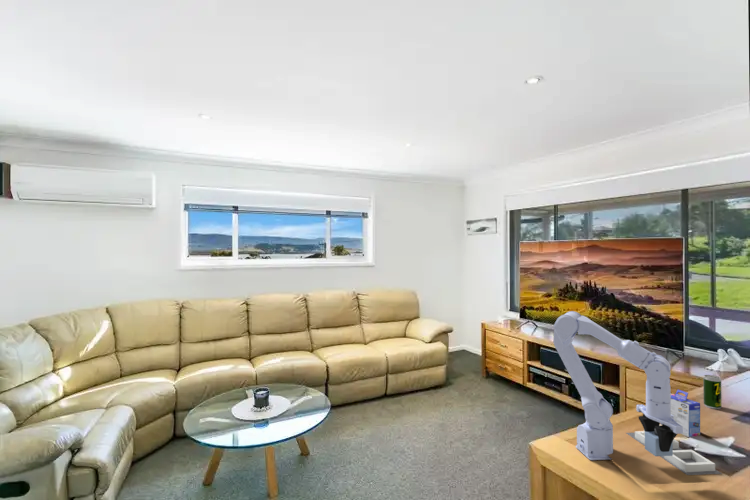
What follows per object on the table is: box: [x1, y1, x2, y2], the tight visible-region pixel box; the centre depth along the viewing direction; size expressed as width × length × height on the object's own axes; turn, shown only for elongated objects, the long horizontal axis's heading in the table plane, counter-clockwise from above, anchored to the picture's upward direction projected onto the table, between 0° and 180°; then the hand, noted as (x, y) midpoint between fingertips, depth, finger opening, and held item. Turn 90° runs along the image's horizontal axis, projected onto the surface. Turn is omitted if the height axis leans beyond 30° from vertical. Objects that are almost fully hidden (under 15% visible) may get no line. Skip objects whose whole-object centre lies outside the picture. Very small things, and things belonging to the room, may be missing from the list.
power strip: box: [625, 430, 723, 476], centre depth 116 cm, size 10×24×4 cm, turn 3°
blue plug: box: [644, 428, 673, 457], centre depth 109 cm, size 5×4×7 cm
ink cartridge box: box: [660, 389, 701, 438], centre depth 130 cm, size 10×6×14 cm, turn 15°
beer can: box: [702, 374, 723, 410], centre depth 152 cm, size 5×5×12 cm
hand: (658, 446), depth 109 cm, fingers closed on blue plug, 4 cm apart
